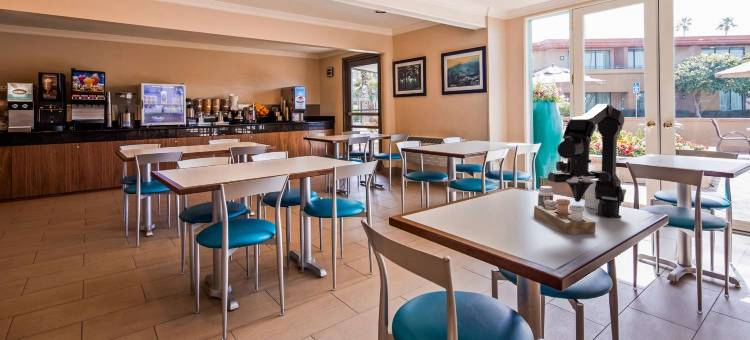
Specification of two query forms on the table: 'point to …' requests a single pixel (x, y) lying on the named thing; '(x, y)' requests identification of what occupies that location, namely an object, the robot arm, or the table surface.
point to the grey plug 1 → (550, 204)
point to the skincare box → (591, 196)
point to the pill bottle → (544, 195)
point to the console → (564, 221)
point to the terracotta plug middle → (562, 206)
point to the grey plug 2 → (576, 213)
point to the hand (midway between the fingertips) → (577, 201)
